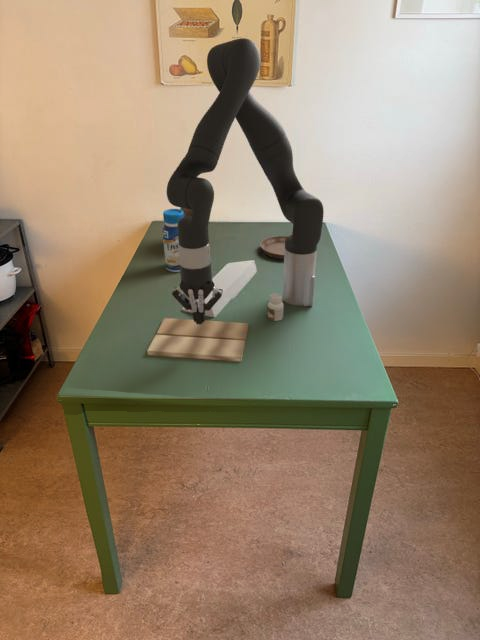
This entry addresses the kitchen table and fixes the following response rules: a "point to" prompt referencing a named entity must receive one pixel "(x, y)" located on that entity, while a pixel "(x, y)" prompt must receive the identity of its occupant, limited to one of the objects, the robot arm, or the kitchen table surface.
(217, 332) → the laid plank
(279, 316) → the pill bottle
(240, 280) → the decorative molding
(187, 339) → the oak plank
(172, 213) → the beverage bottle
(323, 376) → the kitchen table surface
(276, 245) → the plant saucer
